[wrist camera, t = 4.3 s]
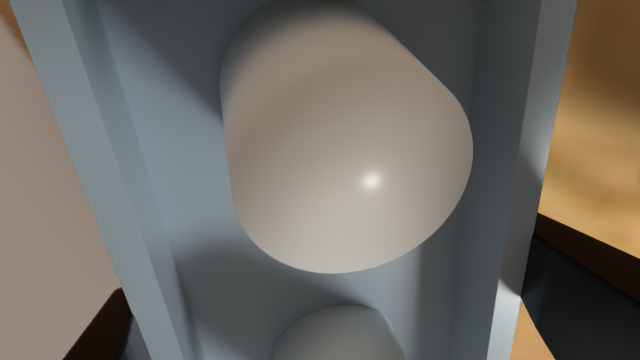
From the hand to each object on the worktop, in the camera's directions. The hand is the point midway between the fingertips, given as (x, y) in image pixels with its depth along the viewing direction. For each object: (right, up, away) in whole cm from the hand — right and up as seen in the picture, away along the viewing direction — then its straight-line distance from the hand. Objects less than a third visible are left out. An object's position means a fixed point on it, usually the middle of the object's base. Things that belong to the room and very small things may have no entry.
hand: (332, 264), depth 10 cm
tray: (0, +1, +1) cm, 1 cm away
